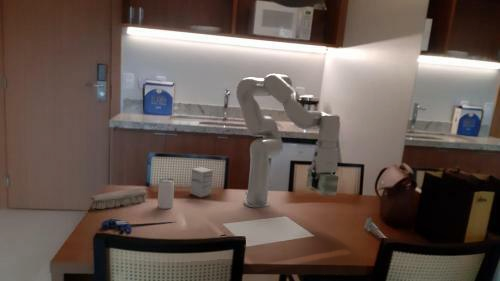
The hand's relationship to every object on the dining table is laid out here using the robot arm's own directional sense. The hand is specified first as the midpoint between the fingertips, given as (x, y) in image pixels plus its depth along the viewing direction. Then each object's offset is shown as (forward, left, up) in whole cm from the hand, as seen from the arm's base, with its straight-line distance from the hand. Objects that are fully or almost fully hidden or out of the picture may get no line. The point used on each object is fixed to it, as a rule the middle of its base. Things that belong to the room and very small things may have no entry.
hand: (321, 186), depth 155 cm
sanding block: (0, 0, -2) cm, 2 cm away
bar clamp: (-19, -66, -18) cm, 71 cm away
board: (0, -24, -18) cm, 29 cm away
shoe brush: (-45, -71, -18) cm, 86 cm away
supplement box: (-49, -33, -18) cm, 62 cm away
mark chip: (-2, -41, -18) cm, 45 cm away
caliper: (+18, +18, -18) cm, 32 cm away
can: (-37, -54, -18) cm, 68 cm away
